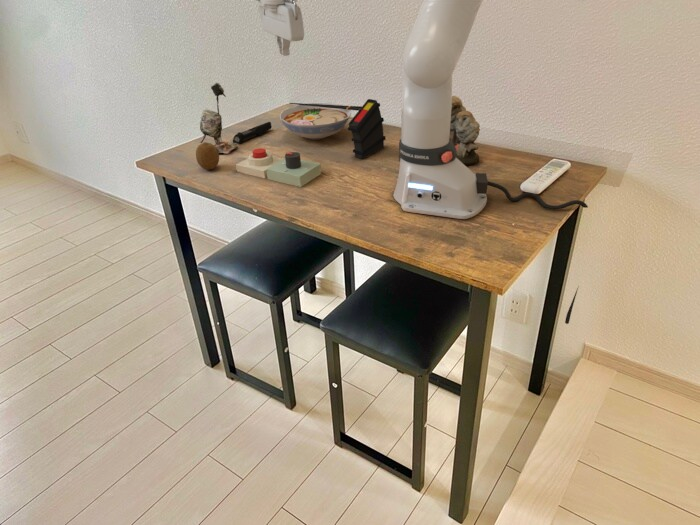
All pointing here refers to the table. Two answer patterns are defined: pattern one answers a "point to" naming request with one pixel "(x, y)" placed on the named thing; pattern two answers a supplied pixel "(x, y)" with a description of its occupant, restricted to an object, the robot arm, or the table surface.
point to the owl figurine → (464, 132)
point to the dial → (292, 160)
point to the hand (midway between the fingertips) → (284, 54)
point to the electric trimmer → (251, 133)
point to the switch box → (257, 165)
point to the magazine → (367, 130)
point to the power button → (259, 153)
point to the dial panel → (294, 173)
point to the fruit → (207, 156)
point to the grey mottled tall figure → (214, 124)
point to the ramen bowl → (316, 119)
